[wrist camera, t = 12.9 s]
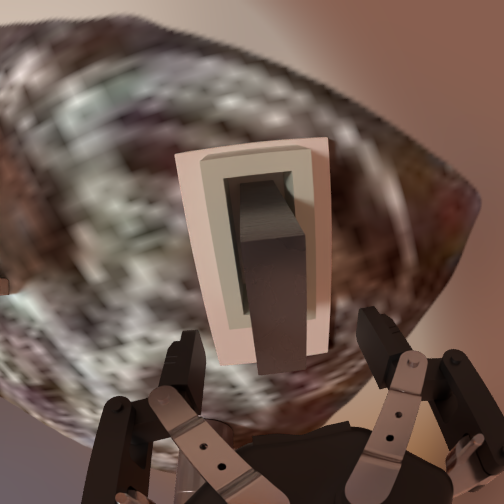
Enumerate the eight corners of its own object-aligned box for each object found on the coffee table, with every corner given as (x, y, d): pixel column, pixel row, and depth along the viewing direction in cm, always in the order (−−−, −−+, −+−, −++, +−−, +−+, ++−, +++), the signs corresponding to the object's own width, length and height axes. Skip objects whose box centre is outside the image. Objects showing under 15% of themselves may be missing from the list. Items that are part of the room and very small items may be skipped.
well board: (325, 347, 36) (338, 383, 30) (220, 360, 36) (218, 398, 30) (324, 137, 25) (348, 140, 19) (176, 153, 25) (158, 161, 19)
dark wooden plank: (239, 183, 26) (240, 242, 13) (272, 179, 26) (305, 234, 13) (250, 270, 30) (258, 375, 17) (279, 267, 30) (306, 369, 17)
